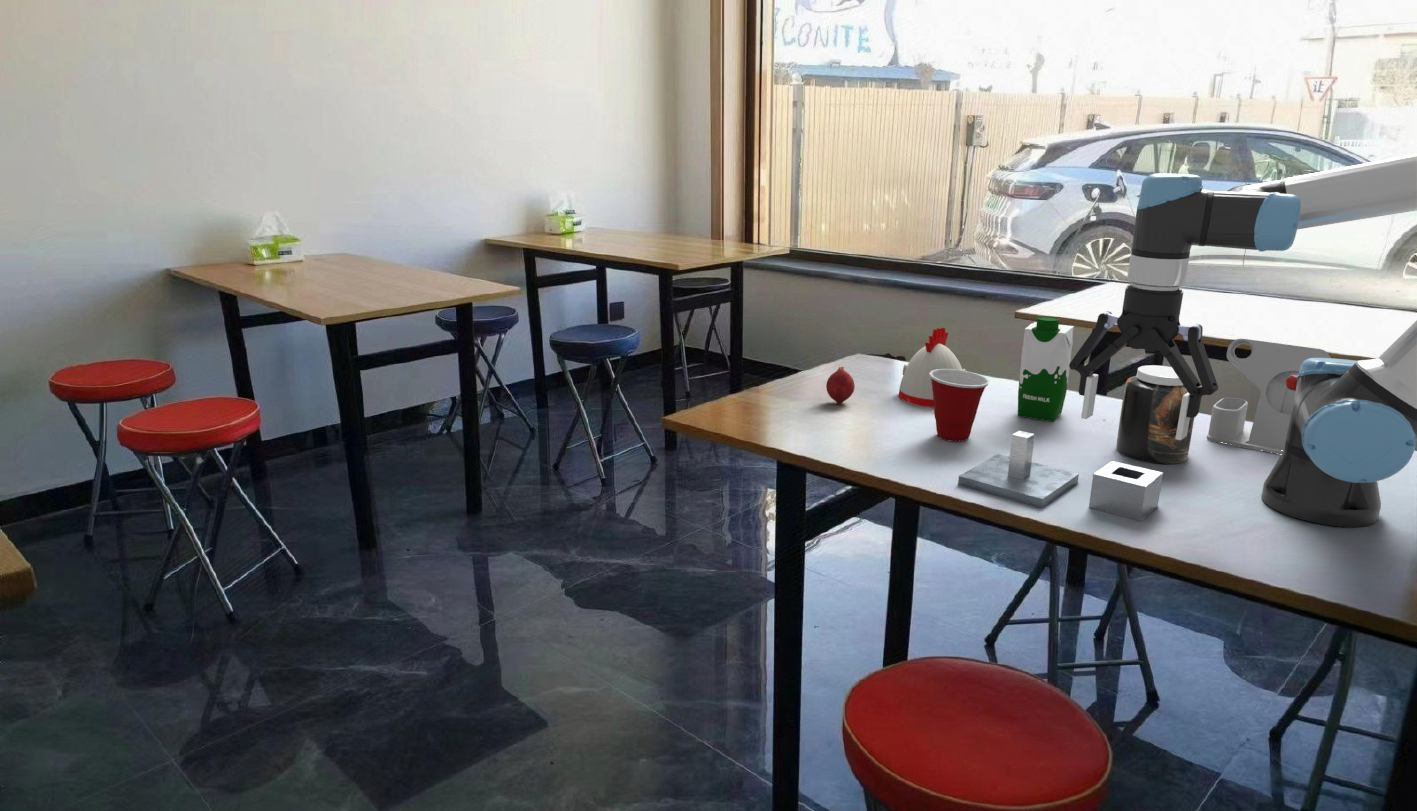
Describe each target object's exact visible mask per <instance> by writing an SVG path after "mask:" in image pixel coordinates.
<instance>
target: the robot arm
mask: <svg viewBox="0 0 1417 811" xmlns="http://www.w3.org/2000/svg"><path fill="white" fill-rule="evenodd" d="M1141 183H1142V184H1141V188H1140V193H1139V198H1138V202H1137V207H1136V213H1135V221H1134V227H1133V228H1134V229H1133V236H1132V244H1131V245H1132V246H1131V251H1130V258H1129V263H1128V268H1127V269H1128V270H1127V275H1126V276H1127V277H1126V281H1128V282H1129V283H1130V284H1128V285H1127V286H1125V288H1124V289H1125V291H1124V296H1123V297H1124V298H1123V302H1122V303H1123V304H1122V312H1121V314H1120V315H1116V314H1113V313H1112V311H1104V312H1102V313H1100V314H1099V315H1098V316H1097V320H1096V324H1095V327H1094V328H1093V330H1092V332H1091V333H1089V336H1088V337H1087V338H1086V340H1085V341H1084V343H1083V344H1082V346H1081V347H1080V348H1079V350H1078V351H1077V352H1076V354H1075V356H1073V358H1072V359H1071V360H1070V364H1069V367H1070V368H1069V370H1072V371H1076V372H1077V373H1079V375H1080V380H1079V386H1078V394H1079V396H1083V402H1082V409H1081V410H1082V411H1081V419H1083V420H1084V419H1085V420H1087V419H1089V418H1090V417H1092V416H1093V415H1094V408H1095V402H1096V396H1097V389H1098V382H1099V374H1097V373H1094V372H1096V370H1098V369H1099V368H1100V367H1101V366H1103V365H1104V364H1105V363H1106V362H1107V361H1109V359H1111V358H1113V356H1115V355H1116V354H1117V353H1118V352H1120V351H1121V350H1122V349H1123V348H1124V347H1126V346H1129V348H1130V347H1131V349H1132V350H1133V349H1134V350H1142V349H1143V350H1145V351H1147V352H1152V353H1155V352H1157V351H1159V352H1160V353H1161V355H1162V357H1164V358H1165V359H1166V361H1167V362H1168V364H1169V365H1170V367H1172V368H1173V370H1174V371H1175V373H1176V374H1177V376H1178V377H1179V379H1180V380H1181V382H1182V383H1183V385H1184V387H1185V388H1186V390H1187V391H1188V393H1186V394H1185V395H1183V398H1182V404H1181V409H1180V415H1179V421H1178V427H1177V432H1176V438H1175V439H1177V440H1182V439H1183V438H1185V437H1186V436H1187V432H1188V426H1189V420H1190V418H1194V419H1195V418H1196V417H1198V415H1199V412H1200V406H1201V402H1202V397H1203V396H1211V395H1213V394H1214V393H1216V392H1217V391H1218V390H1219V385H1218V382H1217V380H1216V377H1215V373H1214V371H1213V368H1212V365H1211V362H1210V360H1209V356H1208V353H1207V351H1206V347H1205V345H1204V342H1203V332H1204V331H1203V325H1201V324H1199V323H1197V324H1194V325H1181V322H1180V315H1181V309H1182V303H1183V302H1182V301H1183V298H1184V290H1183V289H1182V288H1181V287H1183V286H1184V285H1185V284H1186V279H1187V273H1188V266H1189V262H1190V257H1191V256H1190V255H1191V249H1192V246H1198V247H1215V248H1226V249H1227V248H1228V249H1240V250H1250V251H1254V250H1255V251H1258V252H1266V251H1267V252H1268V251H1269V252H1271V251H1273V252H1274V251H1275V252H1279V251H1280V252H1283V251H1287V250H1289V249H1290V248H1291V247H1292V246H1293V244H1294V241H1295V240H1296V235H1297V232H1298V230H1303V229H1309V228H1314V227H1321V226H1328V225H1334V224H1339V223H1346V222H1348V223H1349V222H1353V221H1358V220H1359V221H1360V220H1365V219H1372V218H1377V217H1385V216H1390V215H1398V214H1402V213H1403V214H1404V213H1409V212H1415V211H1417V153H1414V154H1408V155H1403V156H1399V157H1392V158H1386V159H1381V160H1377V161H1372V162H1371V161H1370V162H1365V163H1361V164H1355V165H1350V166H1349V165H1348V166H1345V167H1344V166H1343V167H1339V168H1333V169H1330V170H1325V171H1319V172H1314V173H1313V172H1312V173H1308V174H1302V175H1297V176H1292V177H1286V178H1283V179H1279V180H1278V179H1277V180H1271V181H1265V182H1261V183H1260V182H1259V183H1254V184H1252V183H1244V184H1239V185H1236V186H1232V187H1231V188H1229V189H1228V190H1226V191H1224V190H1223V191H1219V190H1218V191H1216V190H1208V189H1203V185H1202V183H1203V179H1202V177H1201V176H1200V175H1196V174H1187V173H1186V174H1185V173H1151V174H1148V175H1147V176H1146V177H1145V178H1144V179H1143V181H1142V182H1141ZM1115 325H1117V328H1118V329H1119V332H1120V333H1121V335H1120V336H1119V337H1117V339H1115V340H1114V341H1113V342H1112V343H1111V344H1110V345H1109V346H1108V347H1106V348H1105V349H1104V350H1103V351H1101V353H1099V354H1097V356H1096V357H1094V358H1093V359H1091V361H1089V362H1088V363H1086V360H1087V359H1088V358H1089V357H1090V355H1091V354H1092V353H1093V352H1094V350H1095V349H1096V348H1097V346H1098V345H1099V343H1100V342H1101V341H1102V339H1103V337H1105V335H1106V333H1107V331H1108V330H1109V329H1111V328H1113V327H1114V326H1115ZM1179 334H1180V335H1181V336H1182V338H1183V340H1184V341H1186V342H1187V345H1188V350H1189V353H1190V355H1191V359H1192V361H1193V364H1194V367H1195V370H1196V374H1197V375H1198V378H1199V379H1198V378H1197V376H1196V375H1195V373H1194V371H1193V370H1192V368H1191V367H1190V366H1189V364H1188V363H1187V361H1186V359H1185V358H1184V356H1183V355H1182V353H1181V351H1180V350H1179V349H1180V348H1179V347H1178V345H1177V344H1176V342H1175V340H1174V339H1175V338H1176V337H1178V335H1179ZM1296 380H1297V382H1296V389H1295V390H1294V391H1295V396H1294V401H1293V406H1292V411H1291V416H1290V421H1289V426H1288V431H1287V436H1286V442H1285V447H1284V451H1283V453H1282V455H1280V457H1279V458H1278V460H1277V461H1276V463H1275V464H1274V466H1273V468H1272V469H1271V470H1270V473H1269V474H1268V476H1267V477H1266V479H1265V481H1264V483H1263V485H1262V492H1261V499H1262V501H1263V502H1264V504H1266V505H1267V506H1269V507H1270V508H1272V509H1273V510H1275V511H1278V512H1280V513H1281V514H1284V515H1287V516H1290V517H1292V518H1296V519H1299V520H1301V521H1305V522H1310V523H1315V524H1320V525H1327V526H1332V527H1333V526H1334V527H1346V528H1347V527H1348V528H1349V527H1350V528H1351V527H1352V528H1353V527H1355V528H1358V527H1365V526H1369V525H1370V526H1371V525H1373V524H1374V523H1376V522H1378V521H1379V516H1380V513H1381V509H1382V502H1381V500H1382V499H1381V497H1380V495H1381V494H1380V490H1379V484H1378V482H1380V481H1383V480H1385V479H1388V478H1390V477H1393V476H1395V475H1396V474H1398V473H1399V472H1400V471H1401V470H1403V469H1404V468H1405V467H1406V466H1407V465H1408V463H1409V462H1410V460H1411V459H1412V457H1413V455H1414V452H1415V450H1416V444H1417V319H1416V320H1415V321H1414V322H1413V323H1412V324H1411V325H1409V327H1408V328H1407V329H1406V330H1405V331H1404V332H1403V333H1402V334H1401V335H1400V336H1399V337H1398V338H1397V339H1396V340H1395V341H1394V342H1393V343H1391V345H1389V347H1388V348H1387V349H1386V350H1384V351H1383V353H1381V354H1380V355H1379V357H1375V358H1373V359H1361V360H1354V359H1346V358H1345V359H1344V358H1332V357H1331V358H1309V359H1306V360H1305V361H1304V362H1303V363H1302V364H1301V368H1300V371H1299V374H1298V375H1296Z"/></svg>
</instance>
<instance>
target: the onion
mask: <svg viewBox="0 0 1417 811" xmlns="http://www.w3.org/2000/svg"><path fill="white" fill-rule="evenodd" d="M854 381H855V380H854V378H853V377H852V376H851V375H850V373H849V372H848V371H846V370H845V367H844V366H843V365H840V366H838V368H837V370H836V371H835V372H833V373H832V374H830V376H829V377H828V378H827V381H826V384H825V385H826V386H825V387H826V392H827V394H828V396H829V397H830V398H831V399H832V400H834V402H836V404H843V403H844V402H846V401H847V400H848V399H849V398H850V397H852V395H853V394H854V391H855V382H854Z"/></svg>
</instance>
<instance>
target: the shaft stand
mask: <svg viewBox="0 0 1417 811" xmlns="http://www.w3.org/2000/svg"><path fill="white" fill-rule="evenodd" d="M1034 442H1035V433H1032V432H1027V431H1022V430H1016V432H1014V433H1012V434H1011V440H1010V450H1009V456H1008V455H1006V454H1001V453H1000V454H999V453H997V454H995V455H993V456H992V457H990V458H989V459H987V460H985V461H983V462H981V463H980V464H978V465H976V466H974V467H971V469H969V470H967V471H965V472H963V473H961V474H960V475H958V482H957V485H958V486H962V487H965V488H968V489H972V490H976V491H980V492H983V493H986V494H990V495H995V496H998V497H1002V498H1004V499H1008V500H1011V501H1015V502H1018V503H1019V502H1020V503H1023V504H1026V505H1030V506H1032V507H1033V506H1034V507H1036V508H1040V509H1043V508H1044V507H1045V506H1046V505H1048V504H1050V503H1051V502H1052V501H1054V500H1055V499H1057V498H1058V497H1059V496H1061V495H1062V494H1064V493H1066V491H1068V490H1069V489H1072V487H1074V486H1075V485H1076V484H1078V482H1079V476H1080V474H1079V473H1075V472H1072V471H1068V470H1065V469H1060V468H1056V467H1052V466H1048V465H1044V464H1040V463H1036V462H1033V461H1032V460H1033V454H1034V453H1033V451H1034V444H1035V443H1034Z"/></svg>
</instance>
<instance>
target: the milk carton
mask: <svg viewBox="0 0 1417 811" xmlns="http://www.w3.org/2000/svg"><path fill="white" fill-rule="evenodd" d="M1074 328H1075V327H1074V325H1065V324H1060V318H1058V317H1054V316H1039V317H1037V318H1036V321H1034V322H1033V323H1030V324H1029V325H1028V326H1027V327H1025V328H1024V334H1023V343H1022V350H1021V360H1020V371H1019V381H1018V387H1017V388H1018V390H1017V417H1022V418H1028V419H1036V420H1038V421H1039V420H1041V421H1045V422H1046V421H1047V422H1053V423H1054V422H1055V421H1056V420H1057V418H1058V417H1059V416H1060V415H1061V414H1062V411H1063V408H1064V403H1065V400H1066V396H1067V391H1068V383H1069V382H1068V381H1069V377H1070V376H1069V375H1070V367H1069V364H1070V362H1071V361H1072V359H1071V357H1072V347H1073V335H1074Z"/></svg>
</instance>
